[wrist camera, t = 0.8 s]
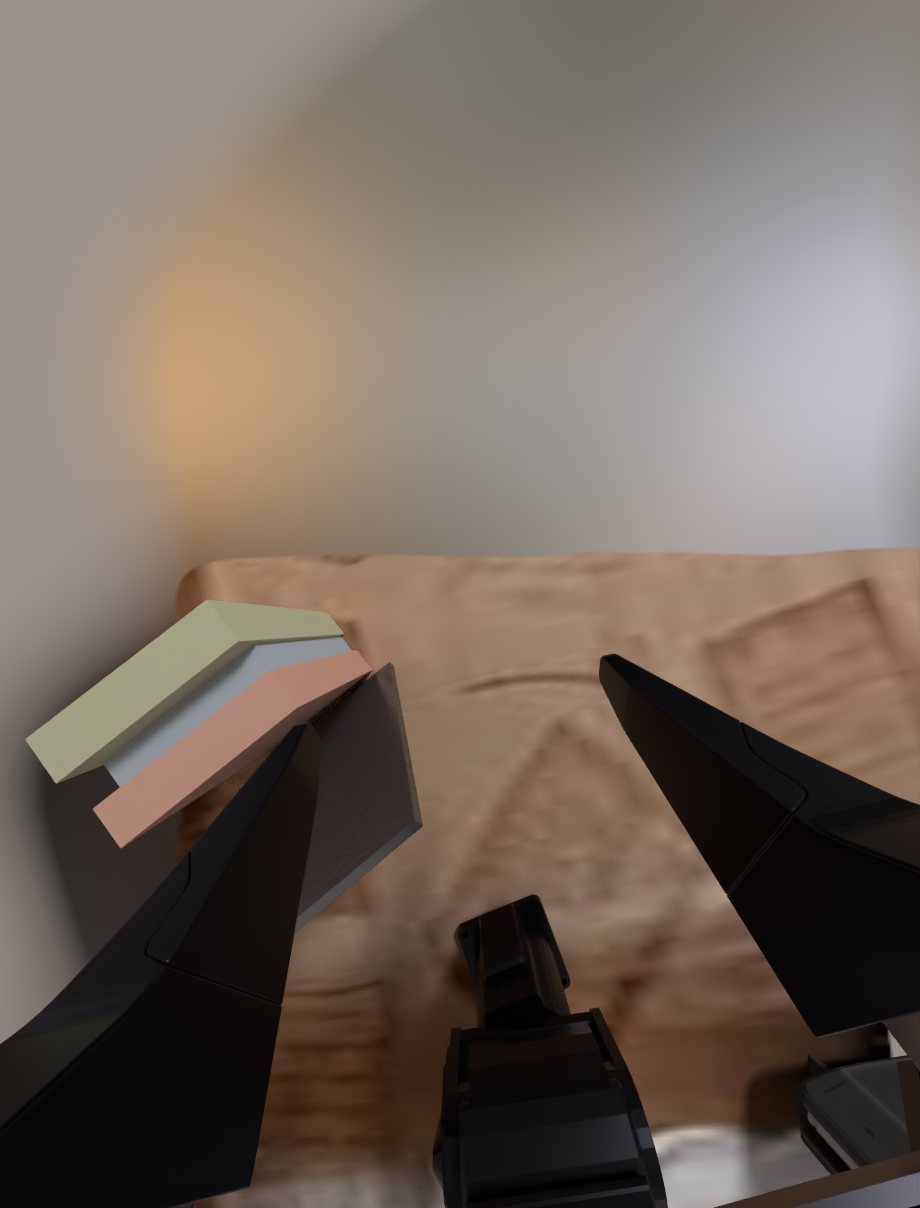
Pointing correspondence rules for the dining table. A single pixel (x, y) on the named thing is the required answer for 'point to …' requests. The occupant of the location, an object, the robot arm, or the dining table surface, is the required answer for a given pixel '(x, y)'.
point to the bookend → (359, 792)
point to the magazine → (852, 1113)
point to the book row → (198, 707)
